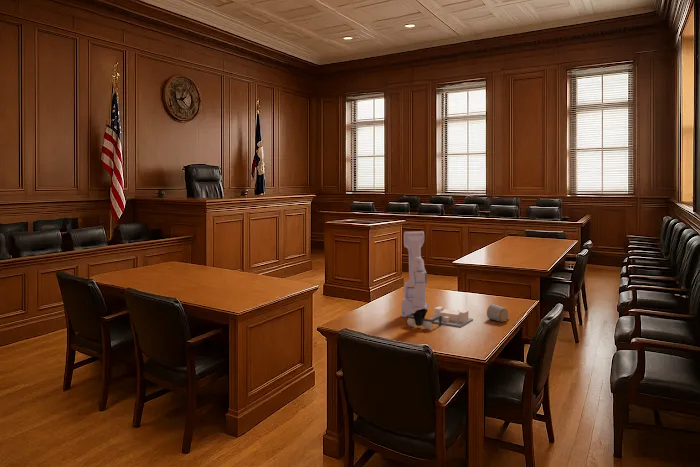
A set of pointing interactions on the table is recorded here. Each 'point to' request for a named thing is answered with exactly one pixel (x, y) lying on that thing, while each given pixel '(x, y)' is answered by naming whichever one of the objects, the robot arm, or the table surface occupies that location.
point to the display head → (451, 317)
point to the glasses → (426, 323)
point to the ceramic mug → (497, 313)
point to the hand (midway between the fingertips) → (419, 324)
